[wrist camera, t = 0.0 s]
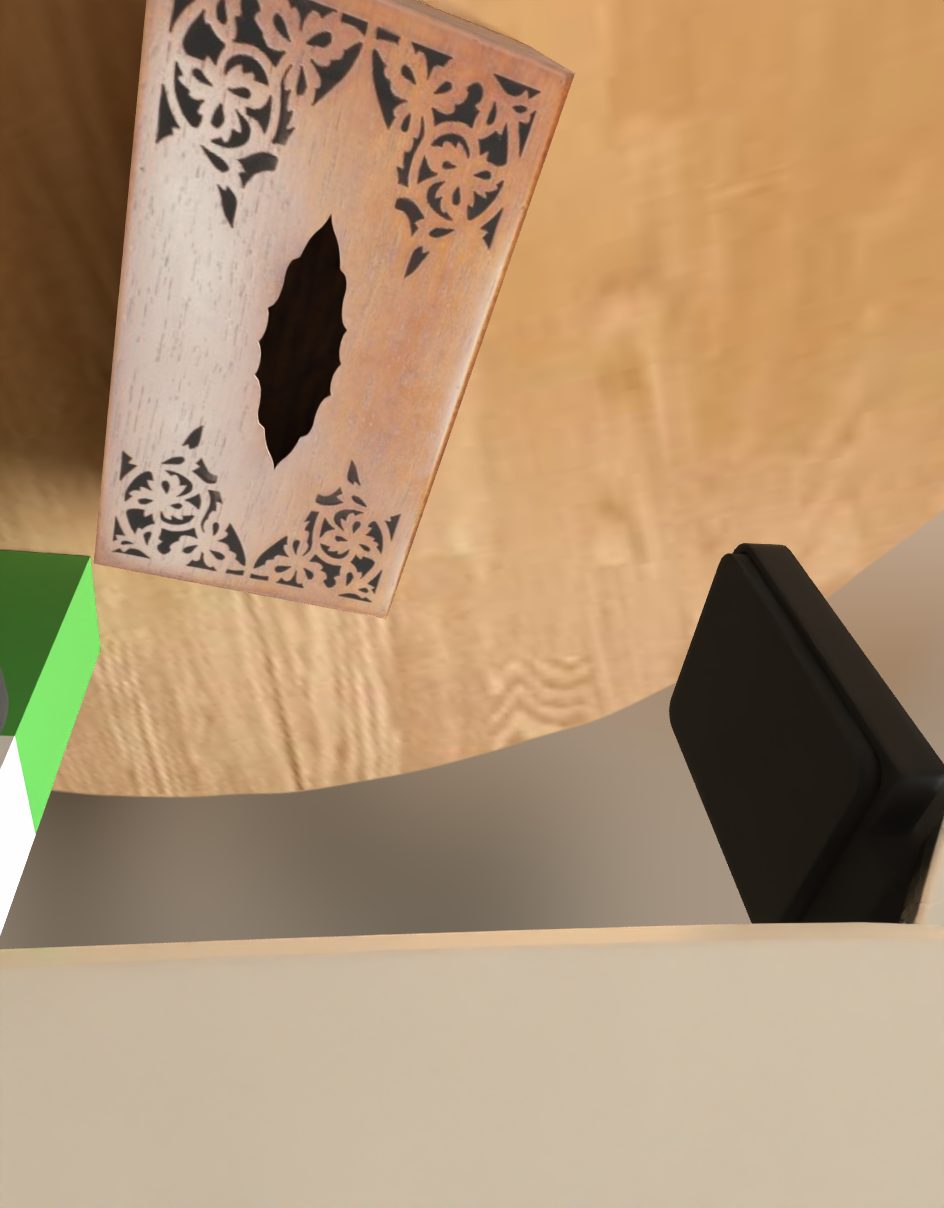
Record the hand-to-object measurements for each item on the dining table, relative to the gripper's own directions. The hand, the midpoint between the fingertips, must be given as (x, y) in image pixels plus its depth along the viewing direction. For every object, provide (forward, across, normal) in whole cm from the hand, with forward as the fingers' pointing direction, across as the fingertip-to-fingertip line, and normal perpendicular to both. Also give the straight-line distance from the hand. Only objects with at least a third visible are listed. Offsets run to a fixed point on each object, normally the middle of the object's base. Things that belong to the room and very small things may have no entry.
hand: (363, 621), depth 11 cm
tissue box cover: (+37, +2, +7) cm, 38 cm away
